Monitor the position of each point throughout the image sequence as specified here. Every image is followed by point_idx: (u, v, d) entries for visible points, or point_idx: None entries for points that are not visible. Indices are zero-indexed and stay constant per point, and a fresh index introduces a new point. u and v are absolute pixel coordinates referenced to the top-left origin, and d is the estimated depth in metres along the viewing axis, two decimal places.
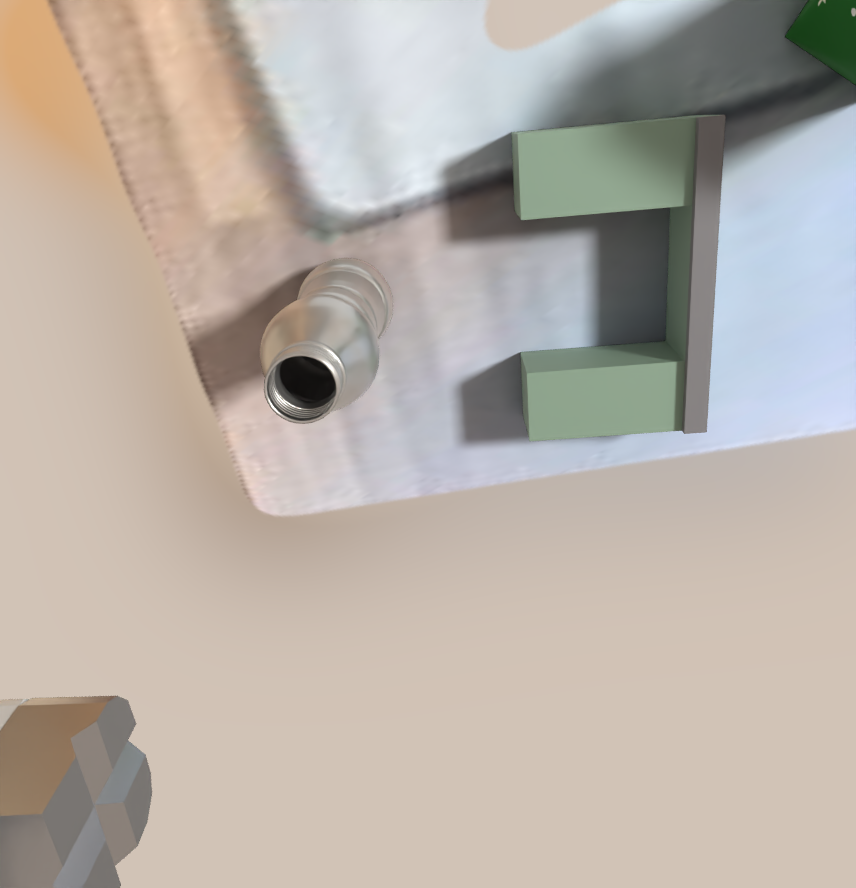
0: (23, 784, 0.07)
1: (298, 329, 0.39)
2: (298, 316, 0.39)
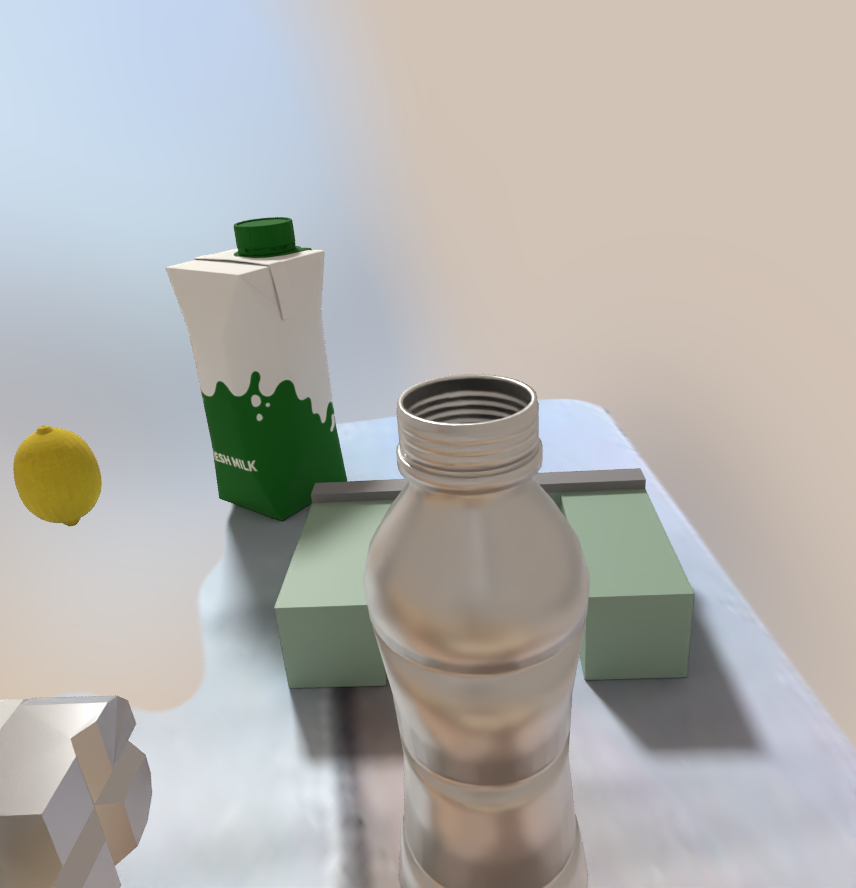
0: (23, 784, 0.07)
1: (393, 516, 0.21)
2: (377, 542, 0.21)
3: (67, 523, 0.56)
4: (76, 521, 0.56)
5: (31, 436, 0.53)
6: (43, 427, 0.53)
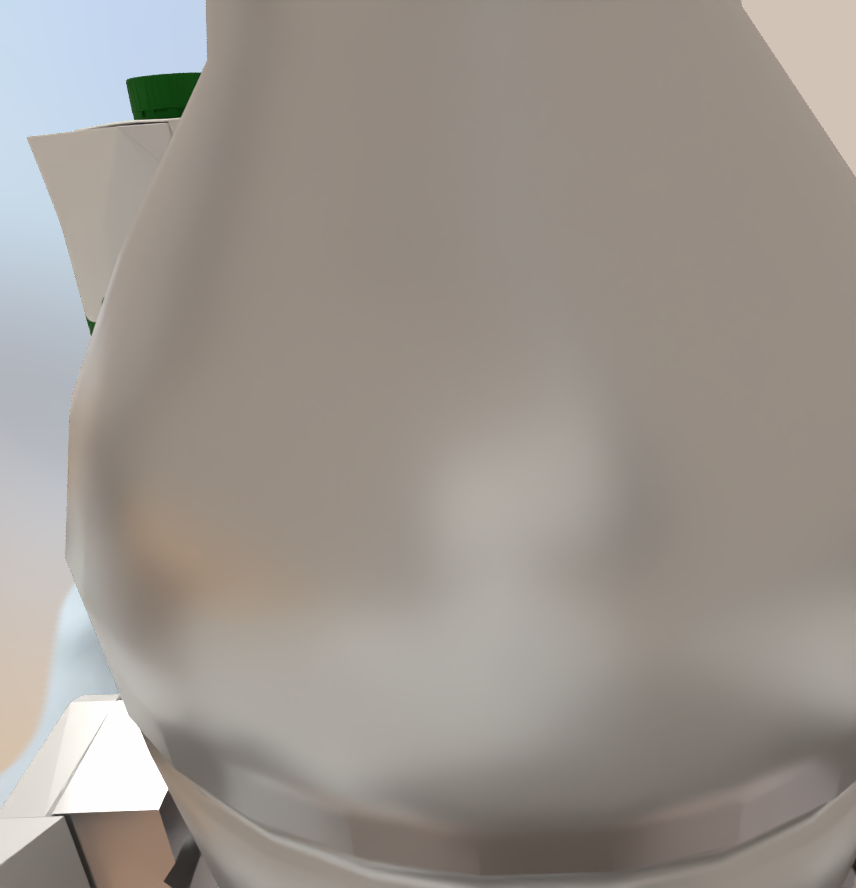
0: (134, 779, 0.07)
1: None
2: None
3: None
4: None
5: None
6: None
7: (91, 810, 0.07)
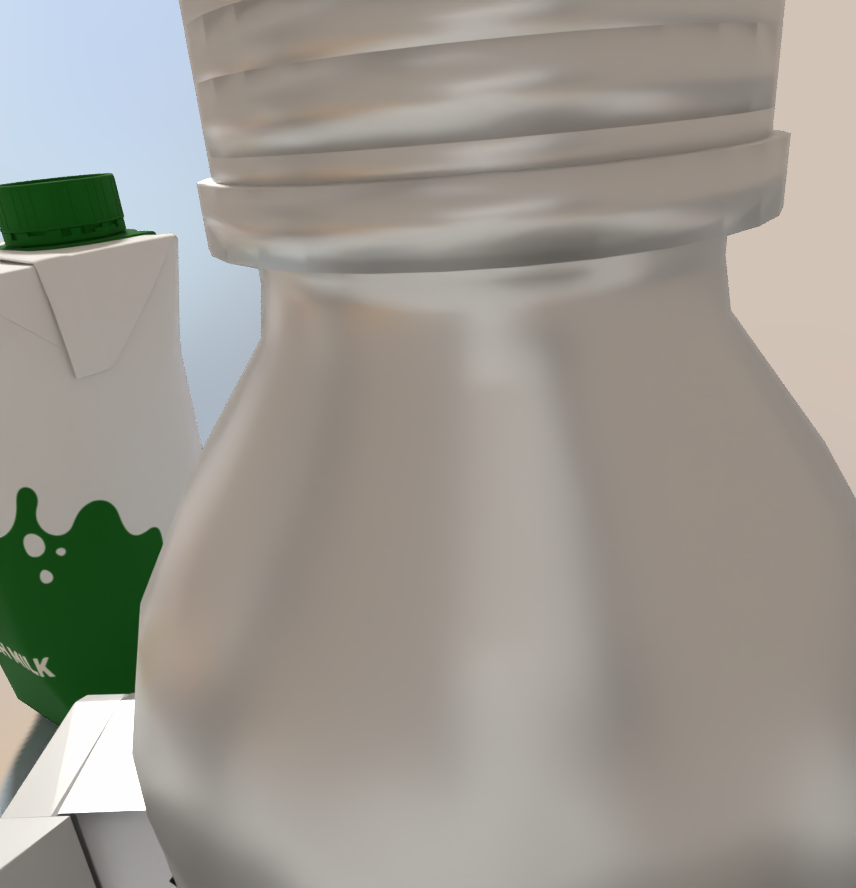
0: None
1: (213, 432, 0.06)
2: None
3: None
4: None
5: None
6: None
7: (96, 810, 0.07)
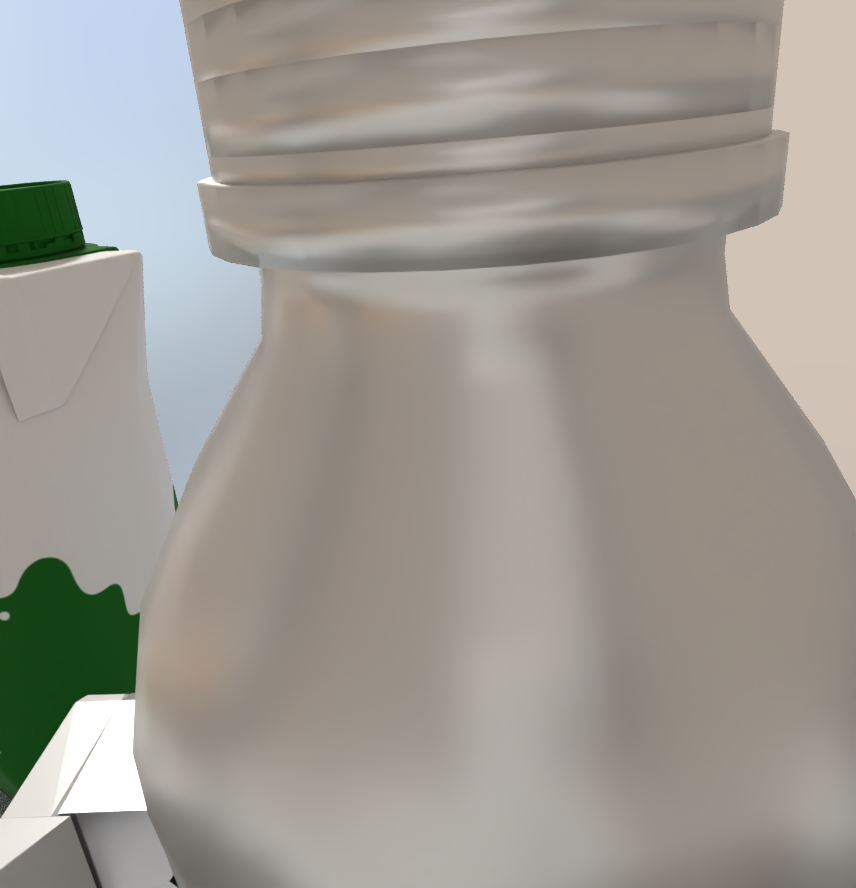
0: None
1: (213, 431, 0.06)
2: None
3: None
4: None
5: None
6: None
7: (97, 810, 0.07)
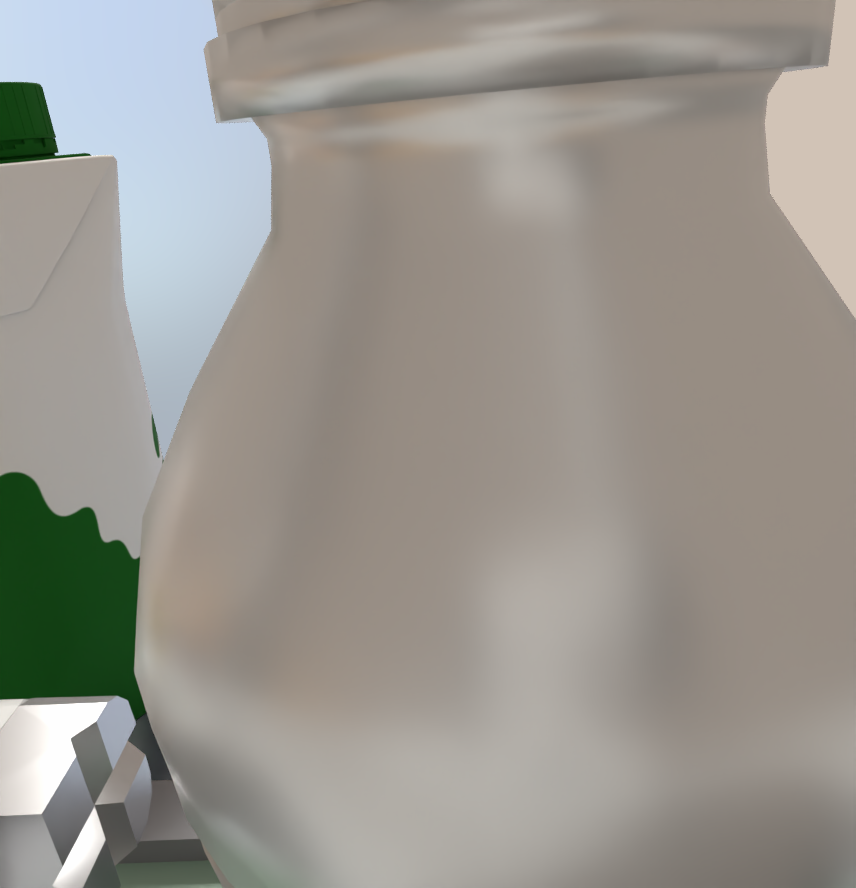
0: (23, 784, 0.07)
1: (219, 333, 0.06)
2: None
3: None
4: None
5: None
6: None
7: None
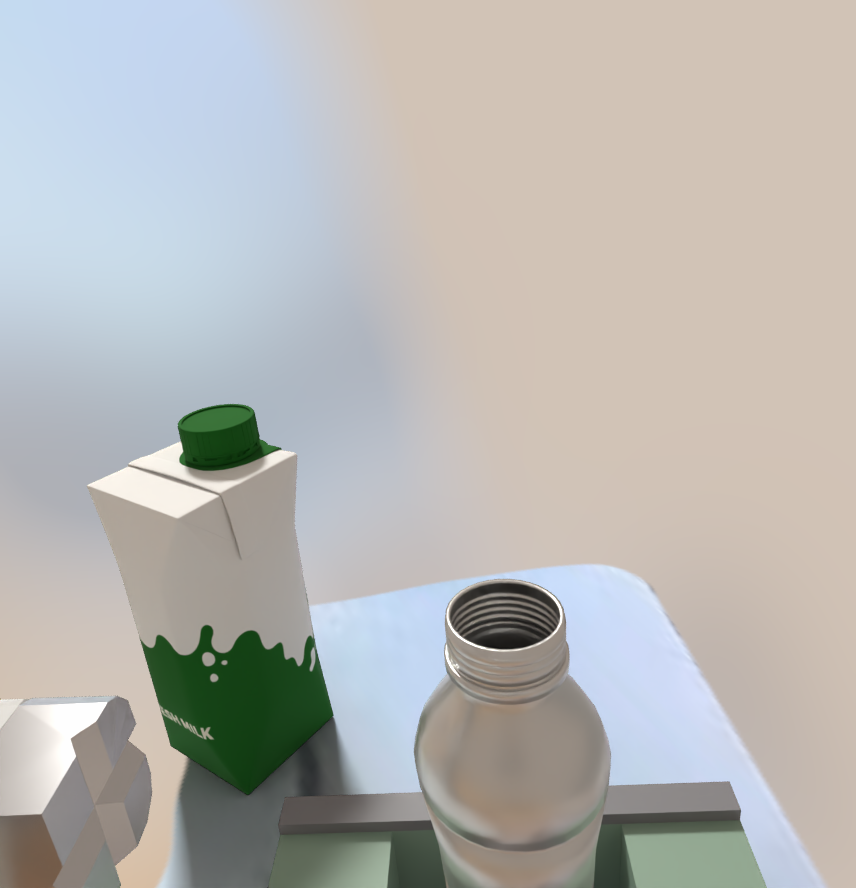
0: (23, 784, 0.07)
1: (440, 703, 0.24)
2: (427, 723, 0.24)
3: None
4: None
5: None
6: None
7: None
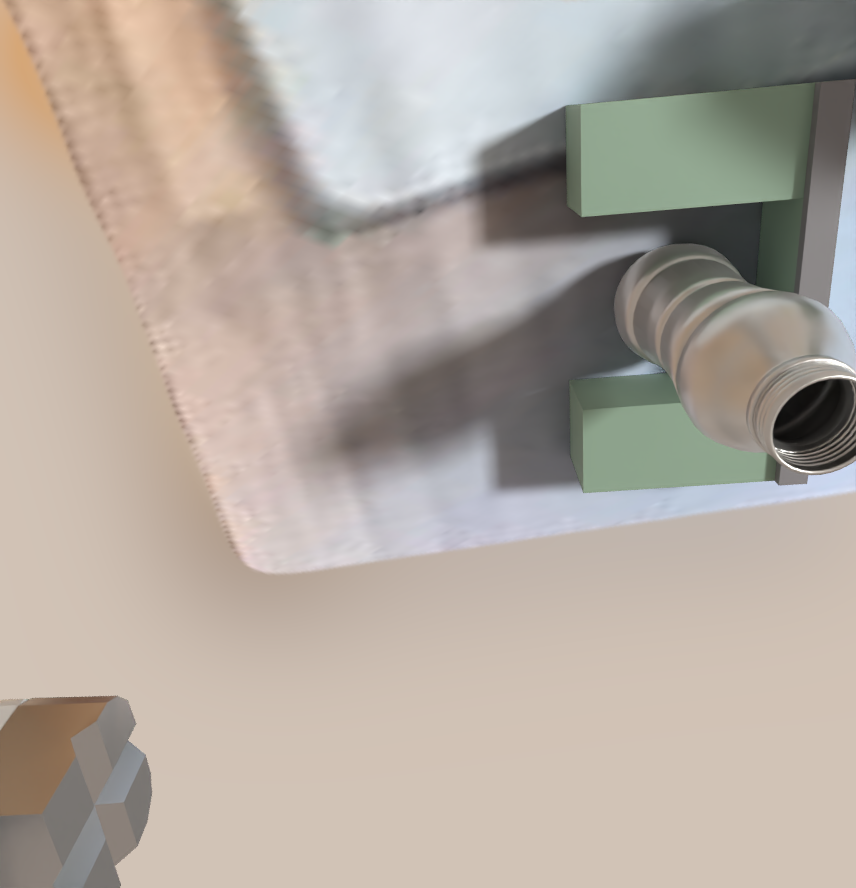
0: (23, 784, 0.07)
1: (785, 337, 0.27)
2: (777, 319, 0.28)
3: None
4: None
5: None
6: None
7: None
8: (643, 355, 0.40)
